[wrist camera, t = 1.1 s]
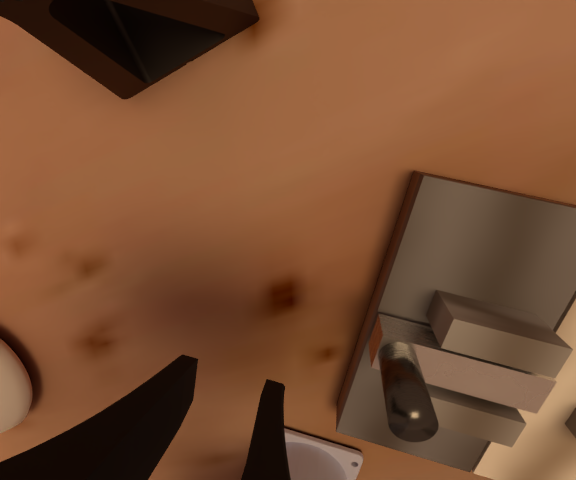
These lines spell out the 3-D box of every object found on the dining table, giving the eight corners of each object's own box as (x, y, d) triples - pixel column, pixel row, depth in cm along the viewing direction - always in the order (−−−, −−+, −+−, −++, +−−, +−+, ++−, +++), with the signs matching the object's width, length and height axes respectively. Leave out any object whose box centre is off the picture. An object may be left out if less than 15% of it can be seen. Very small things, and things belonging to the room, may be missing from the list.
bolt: (368, 343, 18) (379, 434, 12) (378, 313, 17) (394, 396, 12) (515, 383, 17) (596, 500, 11) (532, 353, 16) (626, 463, 11)
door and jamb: (336, 403, 23) (334, 474, 18) (414, 170, 17) (441, 183, 12) (600, 481, 21) (675, 582, 16) (786, 250, 15) (987, 302, 10)
